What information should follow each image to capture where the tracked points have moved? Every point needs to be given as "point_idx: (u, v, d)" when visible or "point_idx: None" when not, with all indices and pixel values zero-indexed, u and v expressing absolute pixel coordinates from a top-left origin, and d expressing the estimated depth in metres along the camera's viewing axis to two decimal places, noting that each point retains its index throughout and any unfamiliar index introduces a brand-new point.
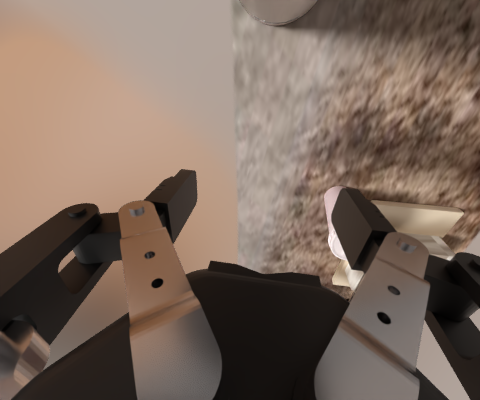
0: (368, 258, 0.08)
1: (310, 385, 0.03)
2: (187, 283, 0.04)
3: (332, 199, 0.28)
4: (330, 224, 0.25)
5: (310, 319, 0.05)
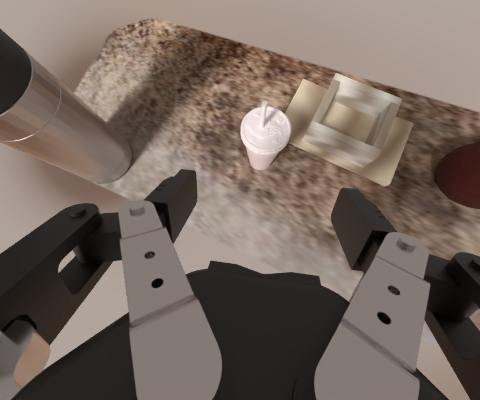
0: (368, 258, 0.08)
1: (310, 385, 0.03)
2: (187, 283, 0.04)
3: (249, 158, 0.32)
4: (254, 154, 0.28)
5: (310, 319, 0.05)
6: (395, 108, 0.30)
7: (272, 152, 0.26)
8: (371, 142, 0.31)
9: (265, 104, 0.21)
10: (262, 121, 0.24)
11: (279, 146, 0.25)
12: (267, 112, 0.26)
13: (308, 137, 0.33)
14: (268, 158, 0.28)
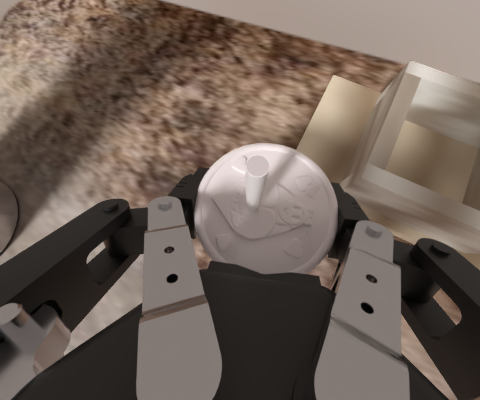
0: (342, 245, 0.08)
1: (310, 385, 0.03)
2: (200, 283, 0.05)
3: None
4: None
5: (310, 319, 0.05)
6: None
7: None
8: None
9: (261, 170, 0.05)
10: (253, 203, 0.07)
11: (306, 269, 0.08)
12: (269, 160, 0.09)
13: (353, 193, 0.16)
14: None
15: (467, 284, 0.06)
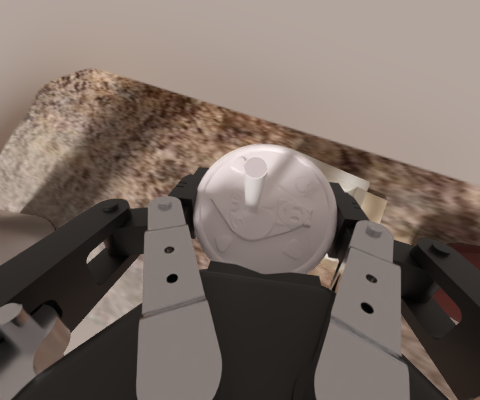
0: (342, 245, 0.08)
1: (310, 385, 0.03)
2: (200, 283, 0.05)
3: None
4: None
5: (310, 319, 0.05)
6: (361, 195, 0.25)
7: None
8: None
9: (259, 172, 0.05)
10: (252, 204, 0.07)
11: (305, 270, 0.08)
12: (268, 161, 0.09)
13: None
14: None
15: (467, 284, 0.06)
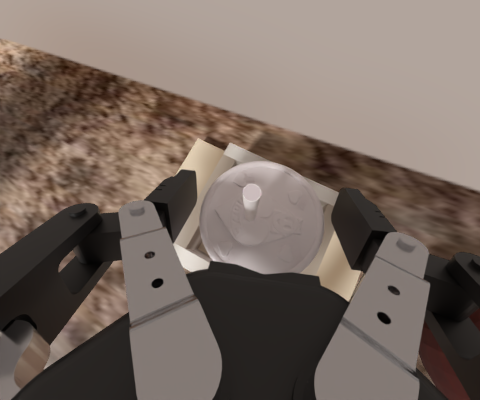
0: (368, 258, 0.08)
1: (310, 385, 0.03)
2: (187, 283, 0.04)
3: None
4: None
5: (310, 319, 0.05)
6: None
7: None
8: None
9: (254, 196, 0.06)
10: (250, 216, 0.09)
11: (296, 272, 0.10)
12: (264, 176, 0.11)
13: None
14: None
15: None
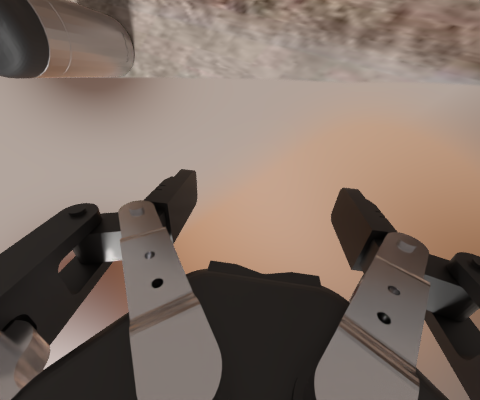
0: (368, 258, 0.08)
1: (310, 385, 0.03)
2: (187, 283, 0.04)
3: None
4: None
5: (310, 319, 0.05)
6: None
7: None
8: None
9: None
10: None
11: None
12: None
13: None
14: None
15: None
